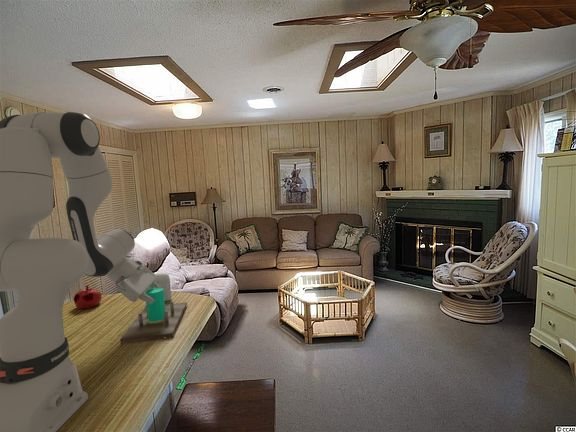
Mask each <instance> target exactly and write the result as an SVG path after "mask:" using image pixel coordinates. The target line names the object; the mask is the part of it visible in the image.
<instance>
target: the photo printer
mask: <svg viewBox="0 0 576 432" xmlns="http://www.w3.org/2000/svg"><path fill="white" fill-rule="evenodd" d="M154 274H155V275H156V277H157V279H156V280H155V282H156V283H157V284H158V286H159V287H160V288H163V290H164V300H165V302H169V301H171V300H172V291H171V278H170V276H169V274H168V273H154ZM149 289H152V288H151V287H149V288H148V289H147V290H149ZM147 290H146V291H147ZM146 291H145V292H146ZM146 304H147V303H146V302H145V305H146Z"/></svg>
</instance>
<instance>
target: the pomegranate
mask: <svg viewBox="0 0 576 432" xmlns="http://www.w3.org/2000/svg"><path fill="white" fill-rule="evenodd" d="M89 286H90V285H89V284H86V285H85V289H83V288H80V289H79V290H78V291H77V292H76V294H74V296H73V299H72V300H73V303H74V305H75V307H76V308H77V309H80V310H82V309H90V308H93V307H96V306H97V305H99V304H100V303H101V302H102V293H101V292H100V291H99V290H97V289H95V288H94V286H92V287H91V288H90V287H89Z"/></svg>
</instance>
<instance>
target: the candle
mask: <svg viewBox="0 0 576 432" xmlns="http://www.w3.org/2000/svg"><path fill="white" fill-rule="evenodd" d="M145 293H146V295H148V296H150V297H151V296H152V297H153V298H155V301H154V302H153V303H152V304H149V303H148V302H146V301H145V304H146V303H147V313H148V320H149V321H152V322H154V321H159V320H162V319H164V318H165V315H164V311H165V305H166V301H165V300H164V290H163V288H152V289H149V290H147V291H146V292H145Z"/></svg>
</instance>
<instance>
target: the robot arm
mask: <svg viewBox="0 0 576 432" xmlns="http://www.w3.org/2000/svg"><path fill="white" fill-rule="evenodd" d="M100 141H101V135H100V131H99V128H98V126H97V125H96V123H95V122H94V120H92V119H91V118H90V117H89V116H88V115H87V114H85V113H80V112H73V111H68V112H46V111H44V112H43V111H40V112H30V113H25V114H14V115H10V116H7V117H4V118H3V119H1V120H0V293H1V292H11V291H16V292H17V294H18V299H17V305H16V306H14V307H13V308H11V309H10V310H8V311H7V312H6V313H4V314H3V315H2V316H1V318H0V432H58V430H59V429H61V428H62V427H63V425H64V424H65V423H66V422H67V421H68V420H69V419H70V418H71V417H73V415H74V414H75V413H76V412H77V411H78V410H79V409H80V408H81V407H82V406H83V405H84V404H85V403H86V402H87V400H88V399H89V395H88V393H87V392H86V391H84V390H83V387H82V383H81V380H80V376H79V372H78V368H77V366H76V364H74V363H73V361H72V360H71V358H70V356H69V354H70V344H69V342H68V341H69V340H68V338H67V337H66V336H65V328H64V314H63V312H64V311H63V309H64V303H65V300H66V297H67V295H68V293H69V291H70V290H71V288H72V287H73V286H74V285H75V284H76V283H78V282H79V281H80V280H81V279H82V278H83V276H84V275H85V276H88V277H92V278H93V277H94V278H97V277H98V278H99V277H100V278H101V277H105V276H106V277H107V278H108V279H110V280H111V282H112V281H113V282H114V283H115V286H116V287H117V290H118V291H119V293H120V294H121V295H122V296H123V297H125V298H126V299H127V300H129V302H133V303H135V302H137V300H138V299H139V300H141V301H144V302H145V303H146V302H148V303H149V304H152V303H153V302H154V301H155V298H153V297H152V296H151V297H150V296H148V295H146V293H145V291H146V290H147V289H148V288H149V287H151V288H160V287H159V286H158V284H157V283H156V282H155V280H156V279H157V277H156V275H155V274H156V273H154V272H153V271H152V270H151V269H150V268H148V267H147V266H146V265H144V263H143V262H142V261H140V260H132V259H130V258H129V257H127V256H128V255H129V254H130V253H131V252H132V251H133V250H134V248H135V245H136V243H135V238H134V237H133V235H132V234H131V233H130V232H129V231H127V230H126V229H122V228H114V229H112V230H111V231H108V232H107V233H105V234H103V235H100V236H97V234H96V229H95V226H94V218H95V215H96V213H97V211H98V209H99V208H100V206H101V205H102V204H103V203H104V201H105V200H106V199H107V198H108V197H109V196H110V194H111V192H112V189H113V178H112V175H111V172H110V169H109V167H108V164H107V161H106V159H105V157H104V155H103V153H102V151H101V148H100V147H99V145H100ZM52 158H55V159H59V161H60V165H61V168H62V171H63V173H64V176H65V179H66V181H67V185H68V198H67V201H66V202H65V203H66V204H65V210H66V215H67V219H68V220H67V221H68V224H69V228H70V231H71V235H72V239H69V238H67V239H66V238H60V237H59V238H58V237H43V238H30V237H31V233H32V232H33V229H34V228H35V227H36V225H37V224H38V223H40V222H41V221H43V220H46V218H48V217H49V216H51V214H52V212H53V210H54V169H53V161H52Z"/></svg>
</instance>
